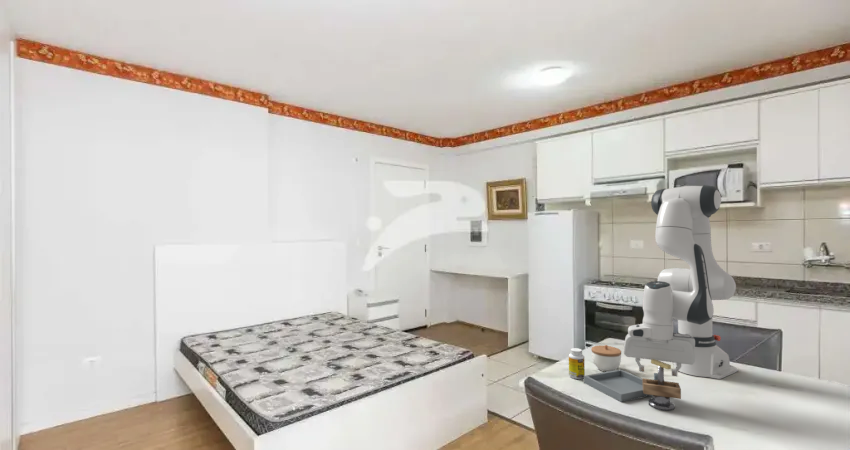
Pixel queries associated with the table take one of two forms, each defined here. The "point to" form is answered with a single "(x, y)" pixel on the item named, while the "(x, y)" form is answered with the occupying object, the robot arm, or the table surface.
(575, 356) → the supplement bottle
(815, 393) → the table surface
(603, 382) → the tray
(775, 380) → the table surface
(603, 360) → the lidded jar
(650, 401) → the plunger
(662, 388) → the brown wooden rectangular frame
